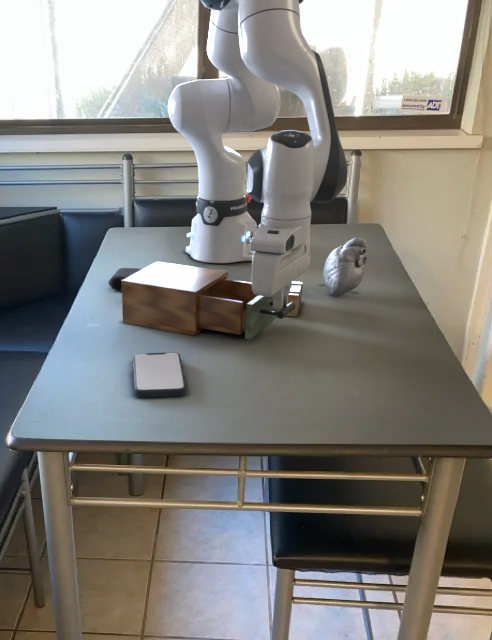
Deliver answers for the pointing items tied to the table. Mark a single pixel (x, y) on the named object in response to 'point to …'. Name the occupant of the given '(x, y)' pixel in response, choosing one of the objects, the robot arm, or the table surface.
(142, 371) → the smartphone
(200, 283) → the cabinet
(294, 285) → the bundle
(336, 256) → the heart
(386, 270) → the table surface
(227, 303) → the drawer
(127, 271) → the carrying case
